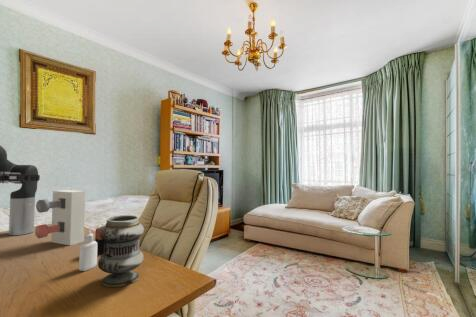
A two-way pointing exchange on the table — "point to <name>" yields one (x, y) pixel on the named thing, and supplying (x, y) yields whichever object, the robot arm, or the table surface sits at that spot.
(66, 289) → the table surface
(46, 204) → the upper grey button
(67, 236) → the box
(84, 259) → the eye dropper bottle
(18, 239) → the table surface
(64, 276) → the table surface
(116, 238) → the apothecary jar
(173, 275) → the table surface
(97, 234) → the battery
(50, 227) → the lower red button
